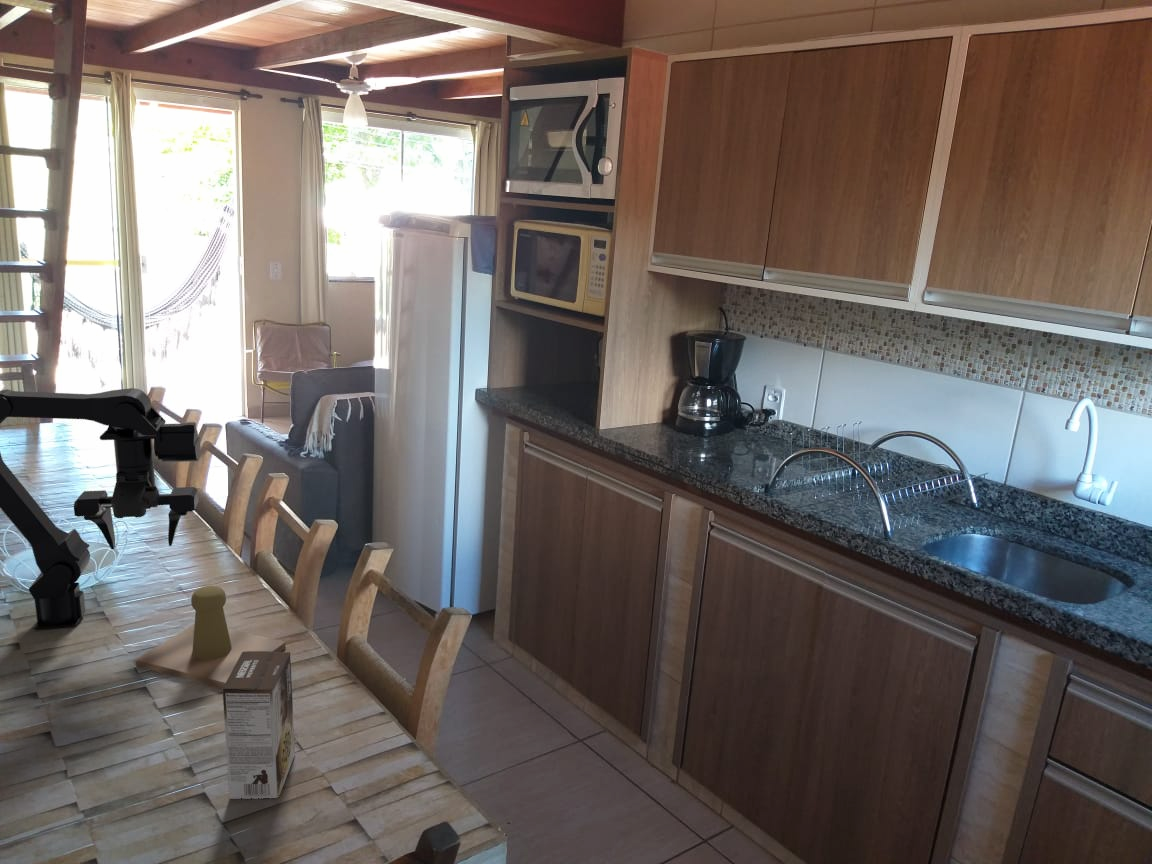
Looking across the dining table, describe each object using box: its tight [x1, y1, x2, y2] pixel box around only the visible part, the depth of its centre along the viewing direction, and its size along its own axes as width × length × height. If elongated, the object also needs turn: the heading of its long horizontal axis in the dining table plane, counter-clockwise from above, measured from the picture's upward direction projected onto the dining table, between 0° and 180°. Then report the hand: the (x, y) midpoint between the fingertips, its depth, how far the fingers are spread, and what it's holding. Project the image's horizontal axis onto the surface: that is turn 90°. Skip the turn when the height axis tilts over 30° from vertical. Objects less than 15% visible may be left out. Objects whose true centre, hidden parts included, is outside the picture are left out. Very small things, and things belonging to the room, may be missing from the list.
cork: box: [190, 585, 232, 660], centre depth 137 cm, size 6×6×11 cm
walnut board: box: [135, 623, 287, 690], centre depth 138 cm, size 18×14×1 cm
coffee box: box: [221, 651, 296, 800], centre depth 109 cm, size 9×6×16 cm
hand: (142, 546), depth 148 cm, fingers open, 9 cm apart
